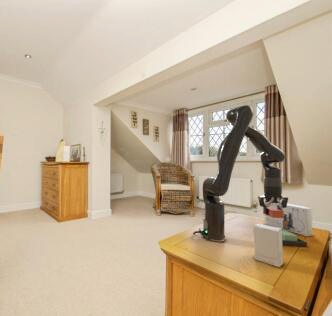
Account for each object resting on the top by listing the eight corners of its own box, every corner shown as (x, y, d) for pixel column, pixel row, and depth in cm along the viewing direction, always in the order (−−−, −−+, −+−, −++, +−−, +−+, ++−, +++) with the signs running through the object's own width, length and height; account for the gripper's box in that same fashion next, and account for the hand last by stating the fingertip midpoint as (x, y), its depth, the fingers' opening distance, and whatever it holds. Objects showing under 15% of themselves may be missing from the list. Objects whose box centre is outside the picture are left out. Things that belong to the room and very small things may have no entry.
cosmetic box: (283, 263, 80) (283, 228, 80) (279, 268, 77) (279, 231, 77) (258, 255, 87) (258, 222, 87) (253, 259, 84) (253, 225, 84)
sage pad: (285, 242, 99) (285, 235, 99) (274, 236, 106) (274, 229, 106) (297, 243, 98) (297, 235, 98) (285, 237, 105) (285, 230, 105)
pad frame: (280, 245, 98) (280, 240, 98) (255, 231, 116) (255, 227, 116) (306, 246, 96) (306, 242, 96) (278, 232, 114) (278, 228, 114)
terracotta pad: (272, 217, 107) (272, 210, 107) (262, 213, 114) (262, 207, 114) (283, 218, 106) (283, 210, 106) (273, 214, 113) (273, 207, 113)
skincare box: (264, 224, 128) (264, 200, 128) (269, 223, 130) (269, 200, 130) (307, 236, 108) (306, 208, 108) (313, 235, 110) (312, 207, 110)
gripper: (281, 184, 112) (282, 213, 112) (254, 184, 115) (254, 212, 115) (292, 186, 105) (293, 217, 105) (262, 185, 107) (263, 216, 107)
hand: (272, 214), depth 110 cm, fingers closed on terracotta pad, 5 cm apart
